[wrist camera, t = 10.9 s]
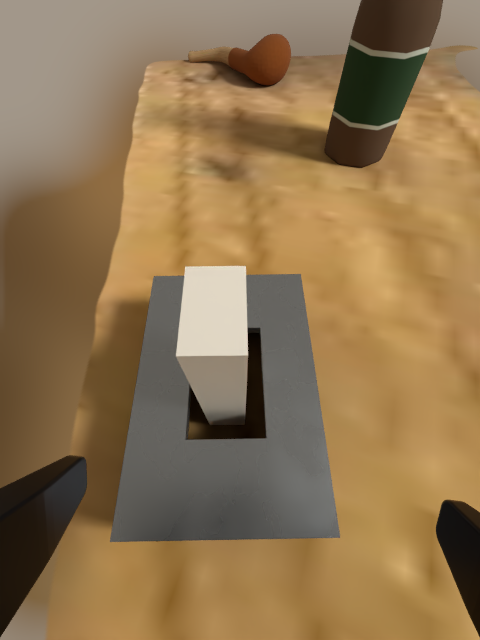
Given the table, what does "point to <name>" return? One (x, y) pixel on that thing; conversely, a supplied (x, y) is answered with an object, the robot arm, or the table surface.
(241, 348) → the block
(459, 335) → the table surface
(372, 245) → the table surface
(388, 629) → the table surface
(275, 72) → the smoking pipe
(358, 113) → the beer bottle
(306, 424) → the box
